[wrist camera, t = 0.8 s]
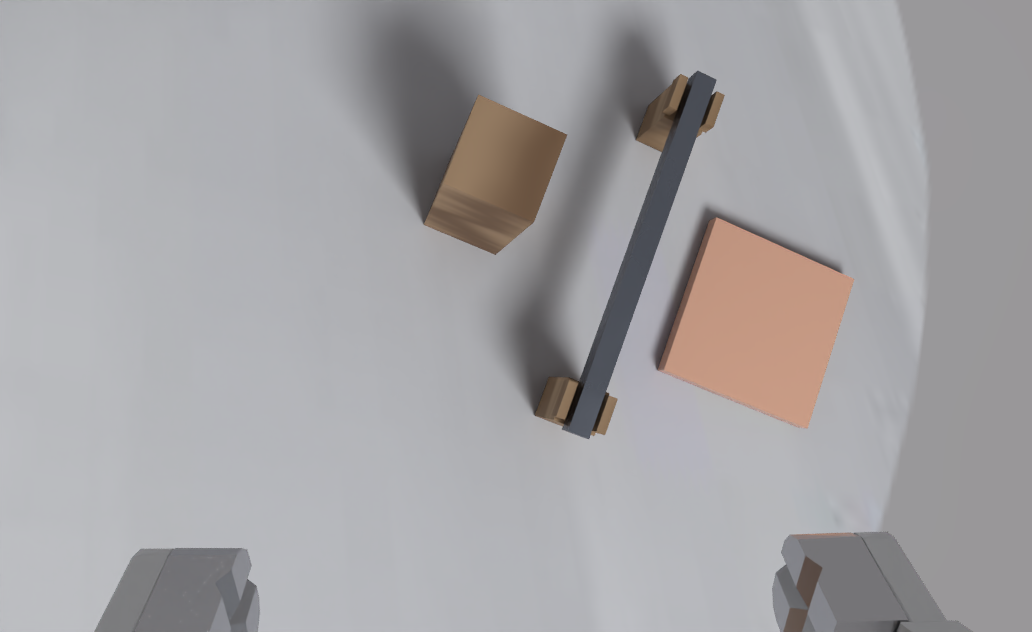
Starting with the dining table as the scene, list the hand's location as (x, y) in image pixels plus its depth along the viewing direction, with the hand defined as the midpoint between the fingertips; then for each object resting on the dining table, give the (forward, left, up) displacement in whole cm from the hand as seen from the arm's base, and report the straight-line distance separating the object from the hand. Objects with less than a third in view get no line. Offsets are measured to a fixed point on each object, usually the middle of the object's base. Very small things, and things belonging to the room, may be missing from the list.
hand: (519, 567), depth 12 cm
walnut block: (-1, +13, -32) cm, 35 cm away
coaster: (+18, +13, -32) cm, 39 cm away
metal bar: (+8, +13, -28) cm, 32 cm away
